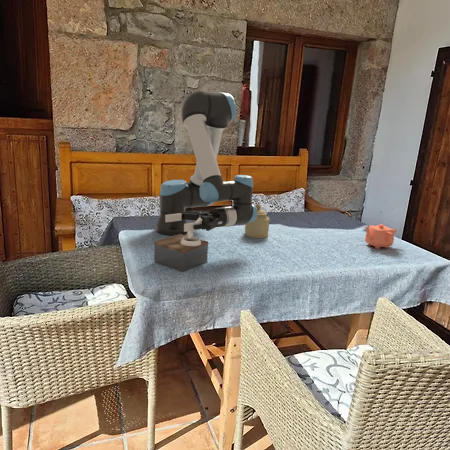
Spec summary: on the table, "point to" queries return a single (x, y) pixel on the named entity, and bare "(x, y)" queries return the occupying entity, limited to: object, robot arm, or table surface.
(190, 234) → the white ring with handle
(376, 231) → the teapot
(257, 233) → the sugar bowl
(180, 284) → the table surface
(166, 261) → the block
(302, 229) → the table surface
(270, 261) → the table surface
